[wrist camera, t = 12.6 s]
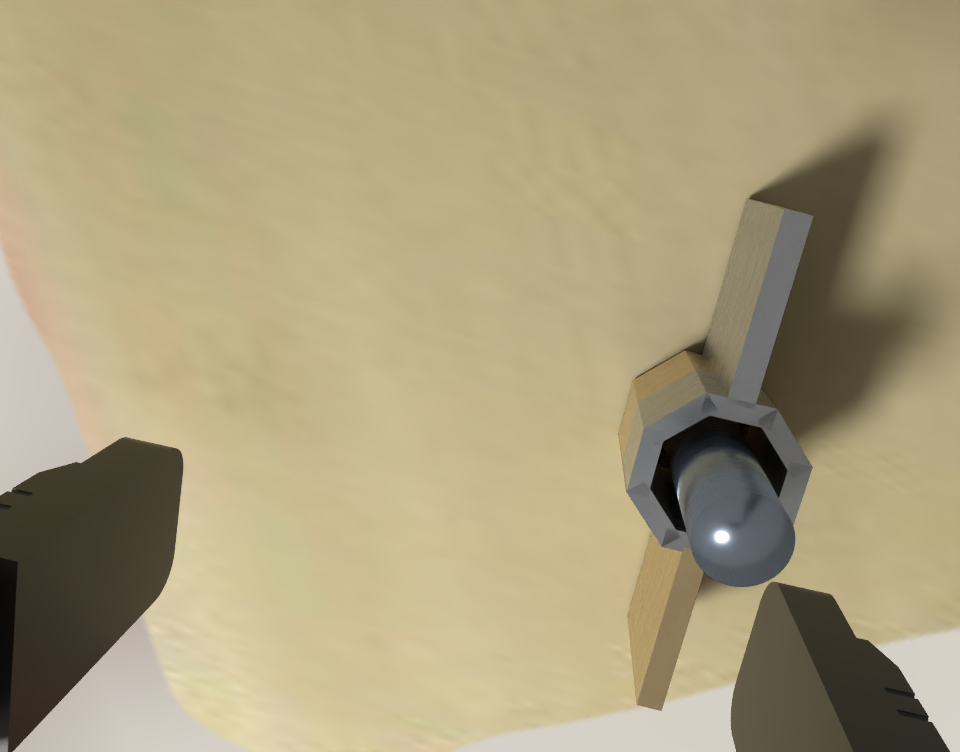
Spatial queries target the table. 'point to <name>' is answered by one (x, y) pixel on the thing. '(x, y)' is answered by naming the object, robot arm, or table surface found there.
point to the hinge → (689, 399)
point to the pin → (728, 504)
